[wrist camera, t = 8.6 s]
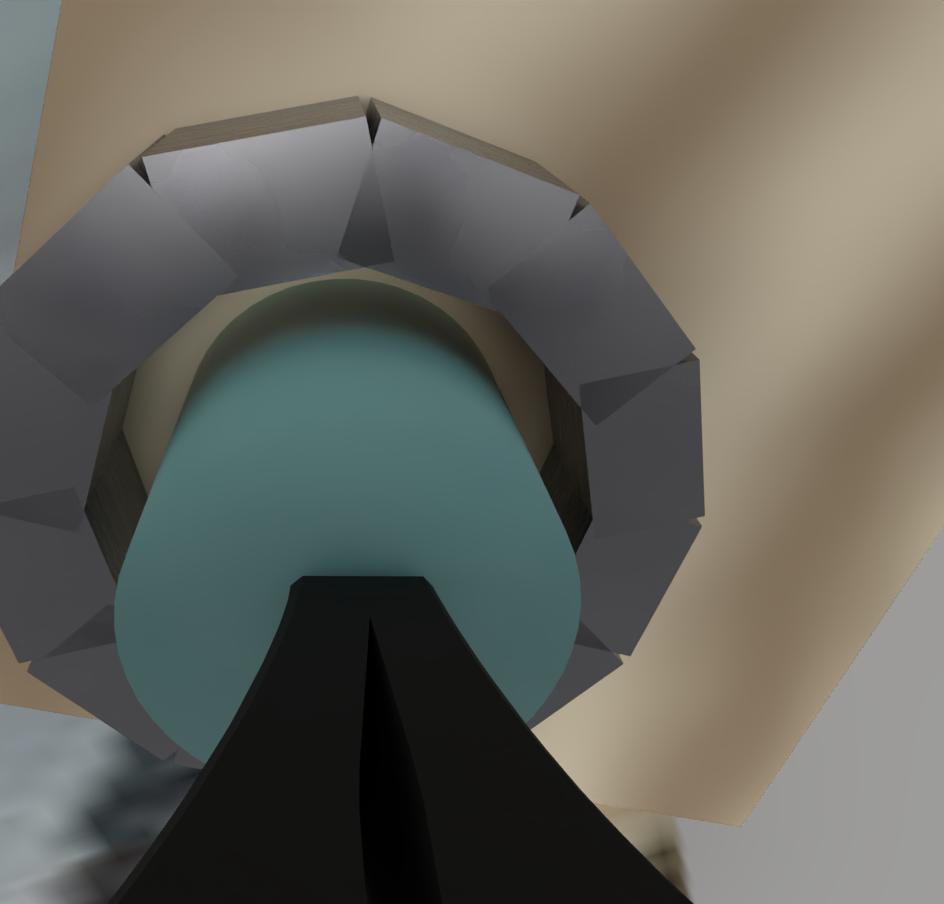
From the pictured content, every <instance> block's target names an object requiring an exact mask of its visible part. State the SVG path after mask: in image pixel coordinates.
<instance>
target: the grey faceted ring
mask: <svg viewBox="0 0 944 904" xmlns="http://www.w3.org/2000/svg"><path fill="white" fill-rule="evenodd" d="M364 267H366V268H369V269H372V270H375V271H378V272H381V273H384V274H387V275H390V276H393V277H396V278H399V279H402V280H405V281H408V282H411V283H414V284H417V285H420V286H423V287H426V288H429V289H432V290H435V291H438V292H441V293H444V294H447V295H450V296H453V297H456V298H459V299H462V300H465V301H468V302H471V303H474V304H477V305H480V306H483V307H486V308H489V309H492V310H495V311H498V312H501V313H502V314H503V316H504V317H505V318H506V319H507V320H508V321H509V323H510V324H511V325H512V326H513V327H514V329H515V330H516V331H517V332H518V333H519V335H520V336H521V337H522V338H523V339H524V341H525V342H526V343H527V344H528V345H529V347H530V348H531V349H532V350H533V351H534V352H535V354H536V355H537V356H538V357H539V358H540V360H541V361H542V362H543V364H544V372H545V380H546V388H547V396H548V404H549V412H550V421H551V429H552V437H553V445H552V447H551V449H550V452H549V454H548V456H547V458H546V460H545V462H544V465H543V467H542V469H541V471H540V473H539V474H540V476H541V479H542V481H543V483H544V485H545V487H546V489H547V491H548V494H549V496H550V498H551V500H552V502H553V504H554V506H555V509H556V511H557V513H558V515H559V517H560V519H561V521H562V524H563V526H564V528H565V530H566V532H567V535H568V538H569V540H570V543H571V546H572V548H573V551H574V554H575V557H576V562H577V567H578V572H579V577H580V589H581V609H580V618H579V627H578V631H577V635H576V639H575V643H574V646H573V650H572V653H571V655H570V658H569V660H568V662H567V665H566V667H565V669H564V672H563V674H562V675H561V677H560V679H559V681H558V682H557V684H556V686H555V687H554V689H553V691H552V692H551V694H550V695H549V697H548V698H547V699H546V701H545V702H544V703H543V704H542V706H541V707H540V708H539V710H538V711H537V712H536V713H535V715H534V716H533V717H532V718H531V719H530V720H529V721H528V722H527V723H526V724H527V726H528V727H529V728H530V729H532V728H534V727H535V726H537V725H538V724H539V723H541V722H542V721H544V720H545V719H547V718H548V717H549V716H551V715H552V714H554V713H555V712H556V711H558V710H559V709H561V708H562V707H564V706H565V705H566V704H568V703H569V702H571V701H572V700H573V699H575V698H576V697H578V696H579V695H580V694H582V693H583V692H585V691H586V690H588V689H589V688H590V687H592V686H593V685H595V684H596V683H597V682H599V681H600V680H602V679H603V678H604V677H606V676H607V675H609V674H610V673H612V672H613V671H614V670H616V669H617V668H619V667H620V666H621V665H623V662H622V659H621V657H620V655H619V654H622V655H626V656H631V655H632V653H633V651H634V649H635V647H636V646H637V644H638V642H639V640H640V638H641V637H642V635H643V633H644V631H645V629H646V627H647V626H648V624H649V622H650V620H651V618H652V617H653V615H654V613H655V611H656V609H657V608H658V606H659V604H660V602H661V600H662V598H663V597H664V595H665V593H666V591H667V589H668V588H669V586H670V584H671V582H672V580H673V579H674V577H675V575H676V573H677V571H678V570H679V568H680V566H681V564H682V562H683V560H684V559H685V557H686V555H687V553H688V551H689V550H690V548H691V546H692V544H693V542H694V541H695V539H696V537H697V535H698V533H699V531H700V530H701V528H702V525H701V524H700V522H699V521H698V520H697V518H699V517H704V516H705V504H704V474H703V445H702V415H701V386H700V360H699V359H698V358H697V357H696V356H695V355H694V354H693V353H692V352H693V351H694V350H695V349H696V348H695V347H694V345H693V344H692V343H691V341H690V340H689V339H688V337H687V336H686V334H685V333H684V332H683V330H682V329H681V328H680V326H679V325H678V323H677V322H676V321H675V319H674V318H673V316H672V315H671V314H670V312H669V311H668V310H667V308H666V307H665V305H664V304H663V303H662V301H661V300H660V298H659V297H658V296H657V294H656V293H655V292H654V290H653V289H652V287H651V286H650V285H649V283H648V282H647V281H646V279H645V278H644V276H643V275H642V274H641V272H640V271H639V269H638V268H637V267H636V265H635V264H634V263H633V261H632V260H631V258H630V257H629V256H628V254H627V253H626V252H625V250H624V249H623V247H622V246H621V245H620V243H619V242H618V240H617V239H616V238H615V236H614V235H613V234H612V232H611V231H610V229H609V228H608V227H607V225H606V224H605V223H604V221H603V220H602V218H601V217H600V216H599V214H598V213H597V211H596V210H595V209H594V207H593V206H592V205H591V203H590V202H588V201H587V200H586V199H584V198H583V197H582V196H580V195H579V194H578V193H577V192H575V191H574V190H573V189H571V188H570V187H569V186H567V185H566V184H565V183H563V182H562V181H561V180H559V179H558V178H557V177H555V176H554V175H553V174H551V173H550V172H549V171H548V170H546V169H545V168H544V167H542V166H541V165H540V164H538V163H537V162H535V161H533V160H530V159H528V158H525V157H523V156H520V155H518V154H515V153H513V152H510V151H508V150H505V149H502V148H500V147H497V146H495V145H492V144H490V143H487V142H485V141H482V140H480V139H477V138H474V137H472V136H469V135H467V134H464V133H462V132H459V131H457V130H454V129H452V128H449V127H446V126H444V125H441V124H439V123H436V122H434V121H431V120H429V119H426V118H424V117H421V116H418V115H416V114H413V113H411V112H408V111H406V110H403V109H401V108H398V107H396V106H393V105H390V104H388V103H385V102H383V101H380V100H378V99H375V98H373V97H371V98H370V101H369V105H368V108H367V111H366V114H365V112H364V110H363V107H362V104H361V102H360V99H359V96H353V97H347V98H342V99H336V100H331V101H325V102H319V103H314V104H308V105H303V106H297V107H292V108H286V109H281V110H275V111H269V112H264V113H258V114H253V115H247V116H242V117H236V118H231V119H225V120H219V121H214V122H208V123H203V124H197V125H192V126H186V127H181V128H175V129H174V130H173V131H172V132H171V133H169V134H168V135H167V136H165V135H162V136H161V137H160V138H159V139H158V140H156V141H155V142H154V143H153V144H152V145H150V146H149V147H148V148H147V149H146V150H144V151H143V152H142V153H141V154H140V155H138V156H137V157H136V158H135V159H134V160H133V161H131V162H130V163H129V164H128V165H127V166H126V167H125V168H124V169H123V170H122V171H120V172H119V173H118V174H117V175H116V176H115V177H114V178H113V179H112V180H111V181H110V182H109V183H108V184H107V185H106V186H105V187H104V188H103V189H102V190H101V191H99V192H98V193H97V194H96V195H95V196H94V197H93V198H92V199H91V200H90V201H89V202H88V203H87V204H86V205H85V206H84V207H83V208H82V209H81V210H80V211H79V212H77V213H76V214H75V215H74V216H73V217H72V218H71V219H70V220H69V221H68V222H67V223H66V224H65V225H64V226H63V227H62V228H61V229H60V230H59V231H58V232H56V233H55V234H54V235H53V236H52V237H51V238H50V239H49V240H48V241H47V242H46V243H45V244H44V245H43V246H42V247H41V248H40V249H39V250H38V251H37V252H36V253H34V254H33V255H32V256H31V257H30V258H29V259H28V260H27V261H26V262H25V263H24V264H23V265H22V266H21V267H20V268H19V269H18V270H17V271H16V272H15V273H13V274H12V275H11V276H10V277H9V278H8V279H7V280H6V281H5V282H4V283H3V284H2V285H1V286H0V628H1V630H2V632H3V634H4V636H5V637H6V639H7V641H8V643H9V645H10V647H11V649H12V651H13V653H14V655H15V657H16V659H17V661H18V663H24V662H28V661H31V663H30V665H29V668H28V670H27V672H28V673H29V674H31V675H32V676H34V677H35V678H37V679H38V680H40V681H41V682H43V683H45V684H46V685H48V686H49V687H51V688H52V689H54V690H55V691H57V692H58V693H60V694H61V695H63V696H64V697H66V698H68V699H69V700H71V701H72V702H74V703H75V704H77V705H78V706H80V707H81V708H83V709H84V710H86V711H87V712H89V713H91V714H92V715H94V716H95V717H97V718H98V719H100V720H101V721H103V722H104V723H106V724H107V725H109V726H110V727H112V728H113V729H115V730H117V731H118V732H120V733H121V734H123V735H124V736H126V737H127V738H129V739H130V740H132V741H133V742H135V743H136V744H138V745H140V746H141V747H143V748H144V749H146V750H147V751H149V752H150V753H152V754H153V755H155V756H156V757H158V758H159V759H161V760H163V761H164V760H165V759H166V758H168V757H169V756H170V755H171V754H173V753H174V752H175V751H176V755H175V760H174V765H178V766H185V767H191V768H197V769H203V767H204V766H205V763H203V762H202V761H200V760H198V759H197V758H195V757H193V756H192V755H191V754H189V753H188V752H187V751H185V750H184V749H183V748H182V747H180V746H179V745H178V744H177V743H175V742H174V741H173V740H171V739H170V737H169V736H168V735H167V734H166V733H165V732H164V731H163V730H162V729H161V728H160V727H159V726H158V725H157V724H156V723H155V722H154V721H153V720H152V718H151V717H150V716H149V714H148V713H147V712H146V710H145V709H144V707H143V706H142V705H141V703H140V702H139V701H138V699H137V697H136V695H135V693H134V691H133V689H132V687H131V685H130V684H129V682H128V680H127V678H126V675H125V672H124V669H123V666H122V663H121V660H120V657H119V654H118V649H117V642H116V636H115V630H114V601H115V595H116V590H117V584H118V578H119V574H120V571H121V568H122V566H123V563H124V560H125V557H126V554H127V551H128V549H129V546H130V543H131V541H132V538H133V536H134V533H135V530H136V528H137V525H138V522H139V520H140V517H141V515H142V512H143V509H144V507H145V504H146V502H147V499H148V495H147V493H146V490H145V488H144V485H143V482H142V480H141V477H140V474H139V472H138V469H137V466H136V464H135V461H134V458H133V456H132V453H131V451H130V448H129V445H128V443H127V440H126V437H125V435H124V432H123V429H122V428H123V424H124V420H125V416H126V412H127V408H128V403H129V399H130V395H131V391H132V387H133V383H134V379H135V375H136V371H137V367H138V366H139V365H140V364H141V363H143V362H144V361H145V360H146V359H147V358H148V357H149V356H150V355H151V354H153V353H154V352H155V351H156V350H157V349H158V348H159V347H160V346H162V345H163V344H164V343H165V342H166V341H167V340H168V339H169V338H171V337H172V336H173V335H174V334H175V333H176V332H177V331H178V330H180V329H181V328H182V327H183V326H184V325H185V324H186V323H187V322H188V321H190V320H191V319H192V318H193V317H194V316H195V315H196V314H197V313H199V312H200V311H201V310H202V309H203V308H204V307H205V306H206V305H208V304H209V303H210V302H211V301H212V300H213V299H214V298H215V297H216V296H218V295H223V294H229V293H234V292H239V291H244V290H249V289H255V288H260V287H265V286H270V285H275V284H281V283H286V282H291V281H296V280H301V279H307V278H312V277H317V276H322V275H327V274H333V273H338V272H343V271H348V270H353V269H359V268H364Z"/></svg>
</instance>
